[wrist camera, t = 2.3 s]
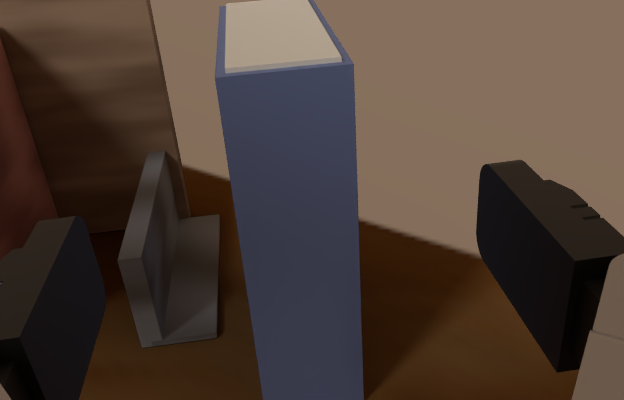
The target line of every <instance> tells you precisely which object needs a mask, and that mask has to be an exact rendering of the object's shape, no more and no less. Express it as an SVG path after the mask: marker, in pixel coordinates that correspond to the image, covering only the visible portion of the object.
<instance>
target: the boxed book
mask: <svg viewBox="0 0 624 400" xmlns="http://www.w3.org/2000/svg"><path fill="white" fill-rule="evenodd" d="M215 82H216V88H217V95H218V101H219V108H220V115H221V122H222V128H223V135H224V141H225V148H226V155H227V161H228V168H229V175H230V182H231V189H232V195H233V202H234V209H235V215H236V222H237V229H238V235H239V242H240V249H241V255H242V262H243V269H244V275H245V282H246V289H247V296H248V302H249V309H250V316H251V322H252V329H253V336H254V342H255V349H256V356H257V362H258V369H259V376H260V382H261V389H262V396H263V400H364V390H363V356H362V323H361V290H360V257H359V224H358V191H357V158H356V126H355V91H354V64H353V62H352V60H351V59H350V57H349V56H348V54H347V53H346V51H345V49H344V48H343V46H342V45H341V43H340V42H339V40H338V38H337V37H336V35H335V34H334V32H333V31H332V29H331V27H330V26H329V24H328V23H327V21H326V20H325V18H324V16H323V15H322V13H321V12H320V10H319V9H318V7H317V5H316V4H315V2H314V1H313V0H262V1H251V2H240V3H228V4H226V6H220V11H219V25H218V40H217V55H216V69H215Z"/></svg>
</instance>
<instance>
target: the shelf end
mask: <svg viewBox="0 0 624 400" xmlns="http://www.w3.org/2000/svg"><path fill="white" fill-rule="evenodd" d="M72 216H80V217H81V218H82V219H83V220H84V222H85V224H86V227H87V230H88V233H89V234H91V233H99V232H108V231H116V230H125V229H126V231H125V235H124V239H123V242H122V246H121V249H120V253H119V256H118V260H117V261H118V264H119V268H120V272H121V275H122V279H123V282H124V286H125V289H126V293H127V297H128V300H129V304H130V307H131V311H132V314H133V318H134V322H135V325H136V329H137V332H138V336H139V340H140V343H141V347H142V348H145V347H153V346H160V345H168V344H175V343H182V342H190V341H197V340H205V339H212V338H217V327H218V287H219V247H220V214H216V215H207V216H199V217H190V216H191V210H190V205H189V199H188V194H187V189H186V184H185V179H184V174H183V169H182V164H181V159H180V153H179V148H178V143H177V138H176V133H175V128H174V122H173V118H172V112H171V107H170V102H169V97H168V92H167V87H166V81H165V76H164V71H163V66H162V61H161V56H160V51H159V46H158V41H157V36H156V31H155V25H154V20H153V15H152V9H151V5H150V0H0V260H1V259H2V258H3V257H4V256H6V255H7V254H8V253H9V252H11V251H12V250H13V249H18V248H23V246H24V245H25V243H26V241H27V239H28V238H29V236H30V234H31V232H32V231H33V229H34V227H35V225H36V224H37V222H38V221H41V220H48V219H56V218H64V217H72Z"/></svg>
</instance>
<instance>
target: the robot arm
mask: <svg viewBox="0 0 624 400" xmlns="http://www.w3.org/2000/svg"><path fill="white" fill-rule="evenodd" d="M476 235H477V243H478V248H479V252H480V254H481V257H482V259H483V261H484V262H485V264H486V265H487V267H488V268H489V270H490V271H491V273H492V275H493V276H494V278H495V279H496V281H497V282H498V284H499V285H500V287H501V288H502V290H503V291H504V293H505V294H506V296H507V297H508V299H509V300H510V302H511V303H512V305H513V306H514V308H515V310H516V311H517V313H518V314H519V316H520V317H521V319H522V320H523V322H524V323H525V325H526V326H527V328H528V329H529V331H530V332H531V334H532V335H533V337H534V338H535V340H536V341H537V343H538V344H539V346H540V348H541V349H542V351H543V352H544V354H545V355H546V357H547V358H548V360H549V361H550V363H551V364H552V366H553V367H554V369H555V370H556V372H564V371H570V370H577V369H580V370H579V374H578V377H577V381H576V385H575V389H574V393H573V396H572V400H624V237H623V236H622V235H621V234H620V233H619V232H618V231H617V230H616V229H615V228H614V227H612V226H611V225H610V224H609V223H608V222H607V221H606V220H605V219H604V218H600V215H599V214H598V213H597V212H596V211H595V210H594V209H593V208H592V207H588V204H587V203H586V202H585V201H584V200H583V199H582V198H581V197H580V196H579V195H577V194H576V193H575V192H574V191H573V190H571V189H569V188H567V187H565V186H562V185H560V184H558V183H556V182H554V181H552V180H545V181H544V180H543V179H542V178H540V176H539V175H537V174H536V173H535V172H534V171H533V170H532V169H531V168H530V167H529V166H528V165H527V164H526V163H525V162H524V161H522V160H515V161H508V162H501V163H492V164H485V165H484V166H483V167H482V169H481V172H480V179H479V196H478V212H477V229H476ZM105 304H106V295H105V286H104V282H103V278H102V275H101V272H100V268H99V265H98V262H97V259H96V256H95V252H94V249H93V246H92V243H91V240H90V236H89V233H88V230H87V227H86V224H85V222H84V220H83V219H82V218H81V217H80V216H72V217H64V218H56V219H48V220H41V221H38V222H37V224H36V225H35V227H34V229H33V231H32V232H31V234H30V236H29V238H28V239H27V241H26V243H25V245H24V246H23V248H18V249H13V250H12V251H11V252H9V253H8V254H7V255H6V256H4V257H3V258H2V259H1V260H0V400H79V397H80V393H81V390H82V386H83V383H84V380H85V376H86V373H87V369H88V366H89V363H90V359H91V356H92V352H93V349H94V346H95V342H96V339H97V335H98V332H99V329H100V325H101V322H102V318H103V315H104V311H105Z"/></svg>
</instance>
